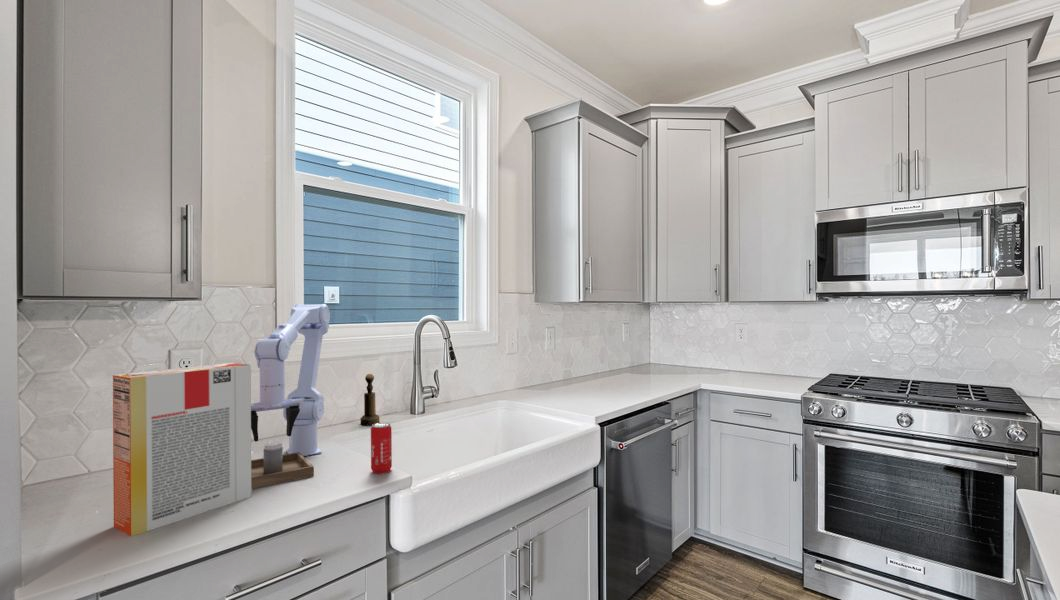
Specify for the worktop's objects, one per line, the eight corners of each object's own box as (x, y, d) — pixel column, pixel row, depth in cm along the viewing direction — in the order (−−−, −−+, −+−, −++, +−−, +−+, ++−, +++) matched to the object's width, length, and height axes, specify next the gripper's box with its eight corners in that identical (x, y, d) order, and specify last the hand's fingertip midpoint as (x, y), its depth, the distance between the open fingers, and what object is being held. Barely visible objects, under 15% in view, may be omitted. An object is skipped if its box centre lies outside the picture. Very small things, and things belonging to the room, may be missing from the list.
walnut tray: (233, 472, 133) (232, 463, 133) (298, 460, 142) (298, 452, 142) (242, 490, 120) (242, 480, 120) (313, 476, 130) (313, 466, 130)
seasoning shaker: (261, 471, 131) (261, 444, 131) (279, 468, 134) (279, 441, 134) (266, 476, 128) (266, 448, 128) (284, 472, 131) (284, 444, 131)
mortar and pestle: (372, 420, 190) (371, 372, 191) (383, 422, 187) (382, 373, 187) (356, 424, 185) (356, 374, 185) (367, 426, 181) (367, 375, 181)
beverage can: (385, 475, 130) (385, 427, 130) (367, 473, 131) (366, 427, 131) (395, 468, 135) (394, 423, 135) (377, 467, 136) (376, 422, 136)
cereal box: (232, 490, 121) (231, 362, 121) (251, 496, 116) (250, 364, 116) (113, 526, 101) (112, 375, 101) (131, 536, 97) (130, 377, 97)
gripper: (242, 390, 124) (242, 446, 124) (306, 384, 132) (306, 436, 132) (238, 386, 129) (238, 440, 129) (299, 380, 138) (300, 431, 138)
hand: (272, 438), depth 131 cm, fingers open, 7 cm apart
